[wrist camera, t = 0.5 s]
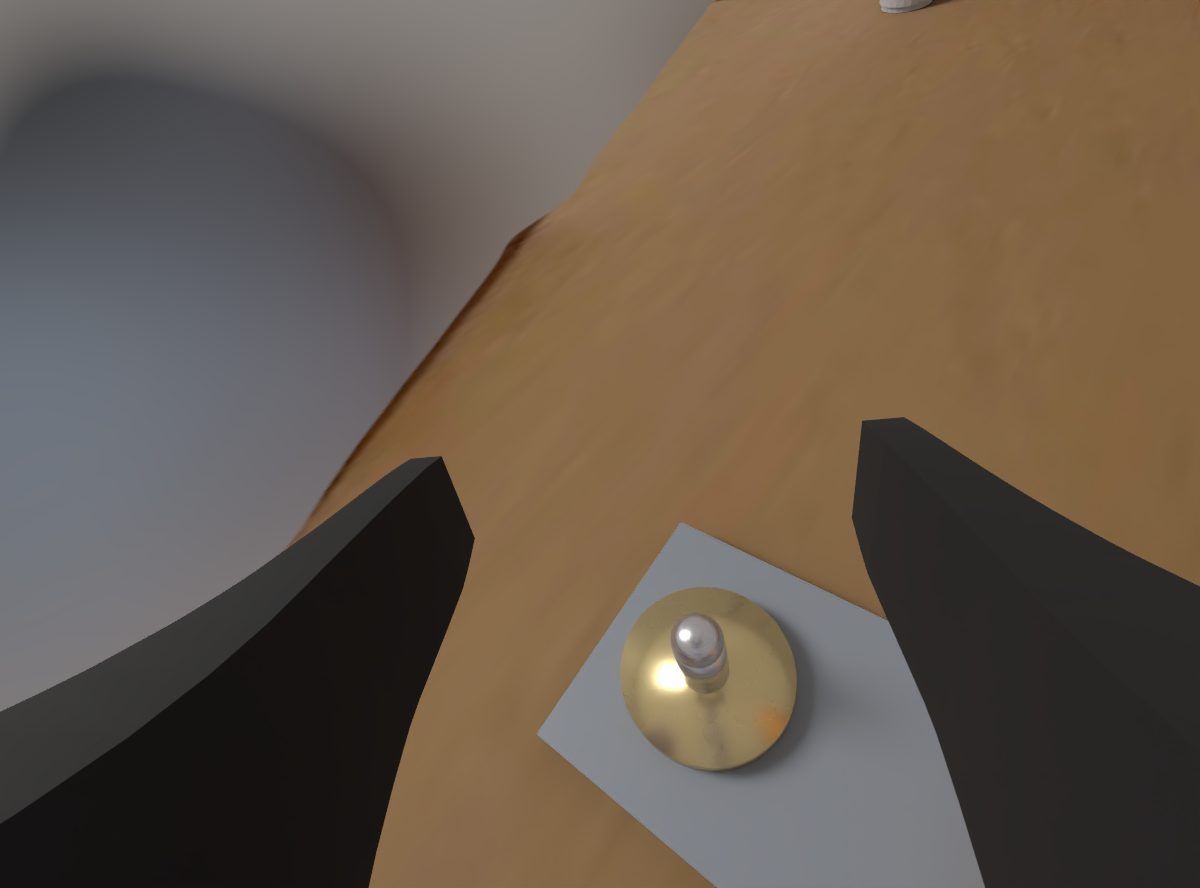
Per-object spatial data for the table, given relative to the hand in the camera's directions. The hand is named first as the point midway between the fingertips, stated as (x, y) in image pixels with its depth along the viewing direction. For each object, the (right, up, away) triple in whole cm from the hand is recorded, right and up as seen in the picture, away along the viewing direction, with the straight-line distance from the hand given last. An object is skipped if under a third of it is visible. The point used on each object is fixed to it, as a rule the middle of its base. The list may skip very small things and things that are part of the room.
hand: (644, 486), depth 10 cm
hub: (+4, -9, +14) cm, 17 cm away
